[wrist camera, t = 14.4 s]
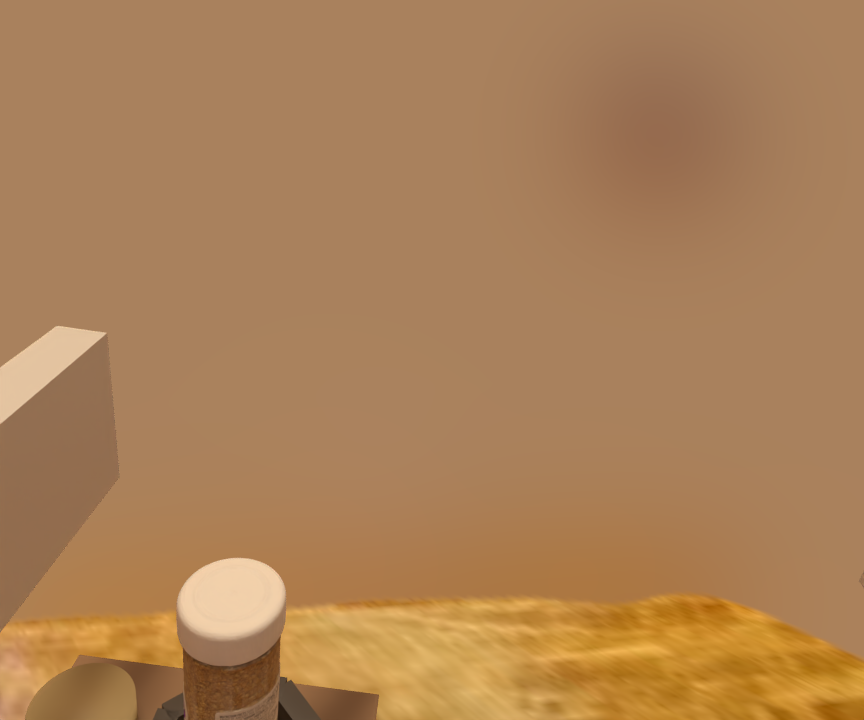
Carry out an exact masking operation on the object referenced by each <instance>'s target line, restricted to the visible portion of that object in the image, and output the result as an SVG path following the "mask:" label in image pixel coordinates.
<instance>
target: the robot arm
mask: <svg viewBox="0 0 864 720" xmlns="http://www.w3.org/2000/svg"><path fill="white" fill-rule="evenodd" d="M110 373H111V372H110V361H109V349H108V337H107V333H103V332H96V331H89V330H83V329H75V328H68V327H62V326H56V327H55V328H54V329H52V330H51V331H50V332H48V333H47V334H45V335H44V336H43V337H41V338H40V339H39V340H37V341H36V342H34V343H33V344H32V345H30V346H29V347H28V348H27V349H25V350H23V351H22V352H21V353H19V354H18V355H17V356H15V357H14V358H13V359H11V360H10V361H8V362H7V363H6V364H4V365H3V366H2V367H0V632H1V631H2V629H3V628H4V627H5V625H6V624H7V623H8V622H9V620H10V619H11V618H12V616H13V615H14V614H15V612H16V611H17V610H18V608H19V607H20V606H21V605H22V603H23V602H24V601H25V599H26V598H27V597H28V596H29V594H30V593H31V592H32V590H33V589H34V588H35V586H36V585H37V584H38V582H39V581H40V580H41V578H42V577H43V576H44V575H45V573H46V572H47V571H48V569H49V568H50V567H51V566H52V564H53V563H54V562H55V560H56V559H57V558H58V556H59V555H60V554H61V552H62V551H63V550H64V549H65V547H66V546H67V545H68V543H69V542H70V541H71V540H72V538H73V537H74V536H75V534H76V533H77V532H78V530H79V529H80V528H81V527H82V525H83V524H84V523H85V521H86V520H87V519H88V517H89V516H90V515H91V513H92V512H93V511H94V510H95V508H96V507H97V505H98V504H99V503H100V502H101V500H102V499H103V498H104V496H105V495H106V494H107V493H108V491H109V490H110V489H111V487H112V486H113V485H114V484H115V482H116V481H117V480H118V478H119V465H118V455H117V443H116V430H115V420H114V407H113V396H112V384H111V374H110ZM859 582H860V583H861V584H862V586H863V587H864V573H863V574H862V576H861V578H860V579H859Z"/></svg>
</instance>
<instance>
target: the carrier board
mask: <svg viewBox="0 0 864 720" xmlns="http://www.w3.org/2000/svg"><path fill="white" fill-rule="evenodd" d="M183 682H184V671H183V669H182V668H174V667H167V666H159V665H152V664H144V663H137V662H129V661H122V660H114V659H107V658H99V657H92V656H84V655H79V657H78V658H77V660H76V661H75V663H74V665H73V666H72V668H71V669H68V670H66V671H64V672H62V673H60V674H58V675H57V676H55V677H54V678H52V679H51V680H50V681H48V682H47V683H46V684H45V685H44V686H43V687H42V688H41V689H40V690H39V691H38V692H37V694H36V695H35V696H34V698H33V699H32V701H31V703H30V705H29V707H28V709H27V713H26V717H25V720H184V697H183ZM378 698H379V695H377V694H370V693H362V692H355V691H347V690H340V689H332V688H325V687H317V686H310V685H302V684H295V683H293V682H292V680H290V681H288V682H287V678H285V677H280V682H279V701H278V717H277V720H376V714H377V706H378Z"/></svg>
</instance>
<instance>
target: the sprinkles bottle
mask: <svg viewBox="0 0 864 720" xmlns="http://www.w3.org/2000/svg"><path fill="white" fill-rule="evenodd" d="M285 616H286V591H285V586H284V583H283V581H282V579H281V577H280V576H279V575H278V574H277V572H276V571H274V570H273V569H272V568H271V567H270V566H268V565H266V564H264V563H262V562H259V561H256V560H252V559H246V558H230V559H224V560H219V561H216V562H213V563H211V564H209V565H206V566H204V567H202V568H201V569H199V570H198V571H196V572H195V573H194V574H193V575H192V576H191V577H189V579H188V580H187V581H186V582H185V584H184V585H183V587H182V588H181V590H180V593H179V595H178V599H177V633H178V637H179V640H180V643H181V645H182V647H183V663H184V664H183V671H184V682H183V697H184V720H277V717H278V701H279V682H280V661H279V659H280V638H281V633H282V631H283V628H284V625H285Z"/></svg>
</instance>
